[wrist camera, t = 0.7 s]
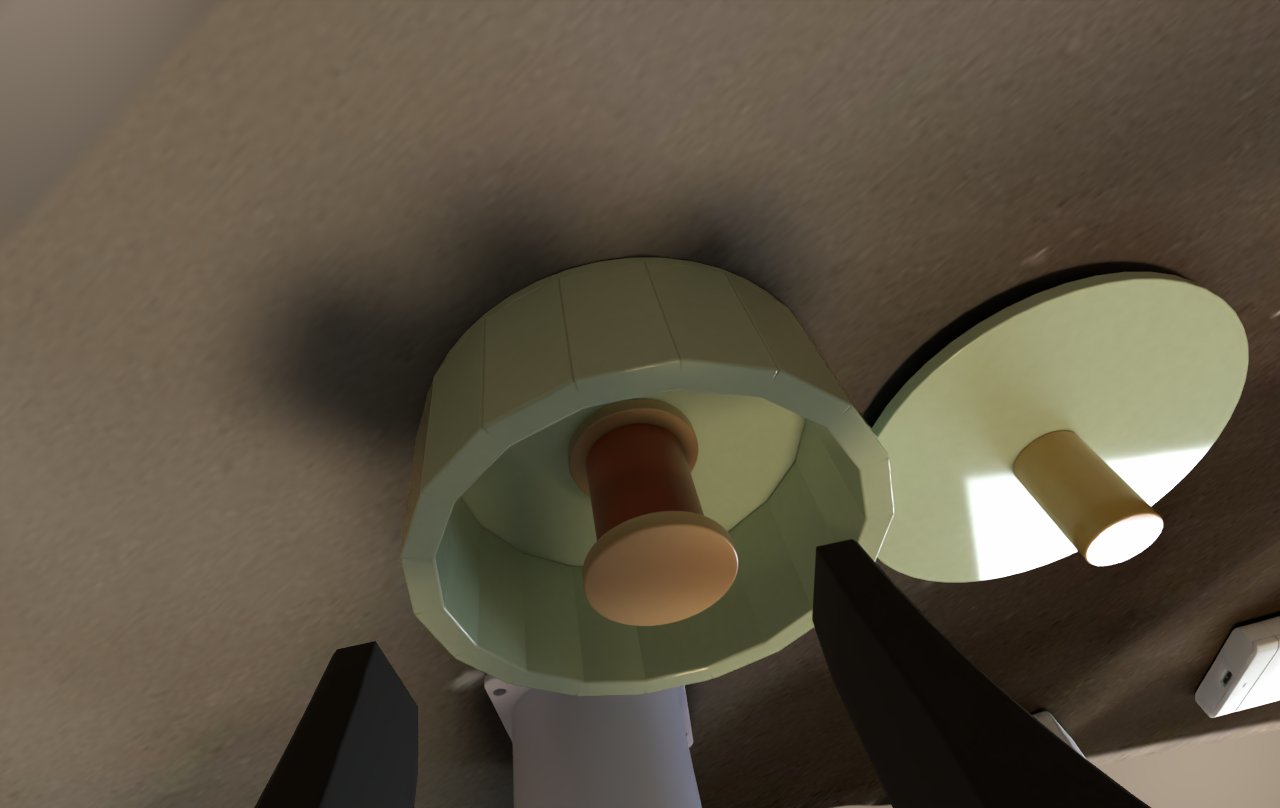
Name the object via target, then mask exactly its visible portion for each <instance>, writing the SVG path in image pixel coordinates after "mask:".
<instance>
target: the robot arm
mask: <svg viewBox="0 0 1280 808" xmlns="http://www.w3.org/2000/svg"><path fill="white" fill-rule="evenodd" d="M812 621H813V624H814V627H815V630H816V633H817V636H818V639H819V641H820V644H821V647H822V650H823V653H824V656H825V659H826V662H827V665H828V667H829V670H830V673H831V676H832V679H833V681H834V683H835V685H836V688H837V690H838V692H839V694H840V696H841V698H842V701H843V703H844V705H845V707H846V709H847V711H848V713H849V716H850V718H851V720H852V722H853V724H854V726H855V728H856V731H857V733H858V735H859V737H860V739H861V741H862V743H863V745H864V748H865V750H866V752H867V754H868V756H869V758H870V760H871V762H872V764H873V767H874V769H875V771H876V773H877V775H878V777H879V779H880V781H881V784H882V786H883V788H884V790H885V792H886V794H887V796H888V798H889V801H890V803H891V805H892V807H893V808H1151V807H1150V806H1148V805H1147V804H1145V803H1144V802H1142V801H1141V800H1139V799H1138V798H1137V797H1135V796H1134V795H1132V794H1131V793H1130V792H1128V791H1127V790H1126V789H1125V788H1123V787H1122V786H1120V785H1119V784H1118V783H1117V782H1115V781H1114V780H1113V779H1111V778H1110V777H1109V776H1107V775H1106V774H1105V773H1103V772H1102V771H1101V770H1100V769H1098V768H1097V767H1096V766H1094V765H1093V764H1092V763H1090V762H1089V761H1088V760H1086V759H1085V758H1084V757H1083V756H1081V755H1080V754H1079V753H1078V752H1076V751H1075V750H1074V749H1073V748H1071V747H1070V746H1069V745H1068V744H1066V743H1065V742H1064V741H1063V740H1061V739H1060V738H1059V737H1058V736H1056V735H1055V734H1054V733H1053V732H1052V731H1050V730H1049V729H1048V728H1047V727H1046V726H1044V725H1043V724H1042V723H1041V722H1040V721H1038V720H1037V719H1036V718H1035V717H1034V716H1032V715H1031V714H1030V713H1029V712H1028V711H1027V710H1025V709H1024V708H1023V707H1022V706H1021V705H1020V704H1018V703H1017V702H1016V701H1015V700H1014V699H1013V698H1012V697H1011V696H1009V695H1008V694H1007V693H1006V692H1005V691H1004V690H1003V689H1002V688H1000V687H999V686H998V685H997V684H996V683H995V682H994V681H993V680H991V679H990V678H989V677H988V676H987V675H986V674H985V673H984V672H983V671H982V670H981V669H980V668H978V667H977V666H976V665H975V664H974V663H973V662H972V661H971V660H970V659H969V658H968V657H967V656H966V655H965V654H964V653H963V652H962V651H961V650H959V649H958V648H957V647H956V646H955V645H954V644H953V643H952V642H951V641H950V640H949V639H948V638H947V637H946V636H945V635H944V634H943V633H942V632H941V631H940V630H939V629H938V628H937V627H936V626H935V625H934V624H933V623H932V622H931V621H930V620H929V619H928V618H927V617H926V616H925V615H924V614H923V613H922V612H921V611H920V610H919V609H918V608H917V607H916V606H915V605H914V604H913V603H912V602H911V601H910V599H909V598H908V597H907V596H906V595H905V594H904V593H903V592H902V591H901V590H900V589H899V588H898V587H897V586H896V585H895V584H894V582H893V581H892V580H891V579H890V578H889V577H888V576H887V575H886V574H885V573H884V571H883V570H882V569H881V568H880V567H879V566H878V565H877V564H876V563H875V561H874V560H873V559H872V558H871V557H870V556H869V555H868V553H867V552H866V551H865V550H864V549H863V548H862V546H861V545H860V544H859V543H858V542H857V541H855V540H853V539H850V540H845V541H840V542H836V543H831V544H826V545H822V546H817V547H816V557H815V575H814V594H813V612H812ZM484 688H485V689H486V691H487V693H488V695H489V697H490V699H491V701H492V703H493V705H494V707H495V709H496V711H497V713H498V715H499V717H500V719H501V721H502V723H503V725H504V727H505V729H506V731H507V733H508V735H509V737H510V739H511V741H512V743H513V784H514V808H702V807H701V802H700V797H699V793H698V788H697V784H696V779H695V774H694V770H693V765H692V761H691V756H690V751H689V747H690V746H691V745H692V744H693V737H692V730H691V724H690V717H689V711H688V704H687V697H686V691H685V685H684V686H680V687H675V688H671V689H666V690H661V691H657V692H652V693H648V694H646V693H644V694H642V695H610V696H576V695H575V696H571V695H566V694H560V693H555V692H549V691H544V690H538V689H533V688H527V687H522V686H516V685H512V684H507V683H505V682H503V681H501V680H499V679H497V678H495V677H492V676H490V675H488V674H487V675H486V676H485V678H484ZM417 775H418V706H417V704H416V703H415V701H414V700H413V698H412V697H411V695H410V694H409V692H408V690H407V689H406V687H405V686H404V684H403V683H402V681H401V680H400V678H399V677H398V675H397V673H396V672H395V670H394V669H393V667H392V666H391V664H390V663H389V661H388V660H387V658H386V656H385V655H384V653H383V652H382V650H381V649H380V647H379V646H378V644H377V643H376V641H374V642H370V643H365V644H360V645H356V646H351V647H346V648H342V649H337V650H336V652H335V653H334V654H333V656H332V658H331V660H330V662H329V664H328V666H327V668H326V670H325V672H324V674H323V676H322V678H321V680H320V682H319V684H318V686H317V688H316V690H315V692H314V695H313V697H312V699H311V701H310V703H309V705H308V707H307V709H306V711H305V713H304V715H303V717H302V719H301V721H300V723H299V724H298V726H297V728H296V730H295V732H294V734H293V736H292V738H291V740H290V742H289V744H288V746H287V748H286V750H285V752H284V754H283V755H282V757H281V759H280V761H279V763H278V765H277V767H276V768H275V770H274V772H273V774H272V776H271V778H270V780H269V782H268V783H267V785H266V787H265V789H264V791H263V793H262V795H261V796H260V798H259V800H258V802H257V804H256V806H255V807H254V808H414V803H415V794H416V784H417Z"/></svg>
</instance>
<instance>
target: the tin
mask: <svg viewBox="0 0 1280 808" xmlns="http://www.w3.org/2000/svg"><path fill="white" fill-rule="evenodd" d="M630 399H651V400H656V401H660V402H664V403H666V404H669V405H671V406H673V407H674V408H676V409H678V410H679V411H680V412H682V413H683V414H684V415H685V416H686V417H687V419H688V420H689V421H690V423H691V425H692V426H693V429H694V432H695V435H696V437H697V441H698V458H697V461H696V464H695V467H694V469H693V471H692V472H691V476H692V479H693V482H694V485H695V488H696V491H697V495H698V498H699V501H700V504H701V507H702V510H703V513H704V516H706V517H709V518H711V519H712V520H714V521H716V522H717V523H719V524H720V525H721V526H722V527H723V528H724V529H725V530H726V531H727V532H728V533H729V535H730V536H731V538H732V541H733V544H734V547H735V549H736V552H737V556H738V570H737V574H736V577H735V579H734V582H733V583H732V585H731V587H730V588H729V589H728V591H727V592H726V593H725V594H724V595H723V596H722V597H721V598H720V599H719V600H718V601H717V602H715V603H714V604H713V605H711V606H710V607H708V608H707V609H705V610H703V611H701V612H700V613H698V614H696V615H693V616H691V617H689V618H686V619H683V620H680V621H676V622H672V623H668V624H662V625H654V626H634V625H627V624H622V623H618V622H615V621H612V620H610V619H608V618H606V617H604V616H602V615H601V614H599V613H598V612H597V611H595V609H594V608H593V607H592V606H591V605H590V603H589V602H588V600H587V598H586V596H585V593H584V587H583V579H582V568H583V564H584V561H585V558H586V556H587V554H588V552H589V551H590V549H591V547H592V546H593V545H594V544H595V543H596V541H597V539H596V532H595V525H594V518H593V512H592V505H591V498H590V497H589V496H588V495H586V494H585V493H584V492H583V491H581V490H580V489H579V487H578V486H577V485H576V484H575V482H574V480H573V479H572V476H571V474H570V469H569V463H568V448H569V444H570V441H571V438H572V436H573V434H574V432H575V431H576V429H577V428H578V427H579V425H580V424H581V423H582V422H583V421H584V420H585V419H586V418H587V417H589V416H590V415H591V414H592V413H594V412H596V411H597V410H599V409H601V408H603V407H605V406H607V405H610V404H612V403H615V402H619V401H623V400H630ZM893 516H894V502H893V491H892V479H891V468H890V457H889V456H888V453H887V451H886V450H885V448H884V447H883V445H882V444H881V442H880V441H879V439H878V438H877V436H876V435H875V433H874V432H873V430H872V429H871V427H870V425H869V424H868V422H867V421H866V419H865V418H864V416H863V415H862V413H861V412H860V410H859V409H858V407H857V406H856V404H855V403H854V401H853V400H852V398H851V397H850V395H849V394H848V392H847V391H846V389H845V388H844V386H843V385H842V383H841V382H840V380H839V379H838V377H837V376H836V374H835V373H834V371H833V370H832V368H831V367H830V365H829V364H828V362H827V361H826V359H825V358H824V356H823V355H822V353H821V352H820V350H819V349H818V348H817V346H816V345H815V344H814V342H813V341H812V339H811V338H810V337H809V335H808V334H807V332H806V331H805V329H804V328H803V326H802V325H801V324H800V323H799V321H798V320H797V319H796V317H795V316H794V315H793V313H792V312H791V310H790V309H788V308H787V306H785V305H783V304H782V303H780V302H779V301H778V300H777V299H776V298H774V297H773V296H772V295H771V294H770V293H768V292H767V291H765V290H763V289H762V288H760V287H758V286H757V285H755V284H753V283H752V282H750V281H748V280H747V279H745V278H742V277H740V276H737V275H735V274H732V273H730V272H728V271H725V270H723V269H720V268H716V267H713V266H709V265H705V264H701V263H697V262H693V261H686V260H678V259H670V258H624V259H616V260H608V261H600V262H596V263H592V264H588V265H584V266H579V267H575V268H571V269H568V270H565V271H562V272H560V273H557V274H555V275H552V276H549V277H547V278H544V279H541V280H539V281H537V282H535V283H533V284H531V285H529V286H527V287H525V288H524V289H522V290H520V291H518V292H516V293H514V294H512V295H511V296H509V297H508V298H506V299H505V300H503V301H502V302H501V303H499V304H498V305H496V306H495V307H493V308H492V309H491V310H489V311H488V312H486V313H485V314H484V315H483V316H482V317H481V318H480V319H479V320H478V321H477V322H476V323H474V324H473V325H472V326H471V327H470V328H469V329H468V330H467V331H466V332H465V333H464V334H463V335H462V337H461V338H460V339H459V340H458V341H457V343H456V344H455V345H454V346H453V348H452V349H451V350H450V351H449V352H448V354H447V356H446V357H445V359H444V361H443V362H442V364H441V366H440V367H439V369H438V371H437V373H436V374H435V376H434V378H433V381H432V384H431V386H430V389H429V392H428V394H427V397H426V401H425V406H424V410H423V415H422V418H421V421H420V425H419V428H418V432H417V435H416V442H415V449H414V457H413V464H412V471H411V478H410V485H409V493H408V500H407V507H406V514H405V522H404V529H403V536H402V543H401V550H400V560H401V564H402V568H403V573H404V577H405V581H406V585H407V589H408V593H409V597H410V602H411V606H412V610H413V613H414V614H415V616H416V617H417V618H418V619H419V620H420V622H421V623H422V624H423V625H424V626H425V627H426V628H427V629H428V630H429V631H430V632H431V633H432V635H433V636H434V637H435V638H436V639H437V640H438V641H439V642H440V643H441V644H442V645H443V646H444V648H445V649H446V650H447V651H448V652H449V653H450V654H451V655H452V656H454V658H455V659H457V660H459V661H461V662H463V663H466V664H468V665H470V666H472V667H474V668H476V669H478V670H480V671H482V672H484V673H486V674H488V675H490V676H492V677H495V678H497V679H499V680H501V681H503V682H505V683H507V684H512V685H516V686H522V687H527V688H533V689H538V690H544V691H549V692H555V693H560V694H566V695H571V696H575V695H576V696H610V695H642V694H644V693H646V694H648V693H652V692H657V691H661V690H666V689H671V688H675V687H680V686H684V685H689V684H693V683H698V682H702V681H707V680H711V679H712V678H717V677H719V676H722V675H724V674H726V673H729V672H731V671H734V670H736V669H738V668H741V667H743V666H745V665H748V664H750V663H753V662H755V661H757V660H760V659H762V658H764V657H767V656H769V655H772V654H774V653H775V652H779V651H780V650H782V649H783V648H784V647H786V646H787V645H789V644H790V643H792V642H793V641H795V640H796V639H798V638H799V637H800V636H802V635H803V634H805V633H806V632H808V631H809V630H811V629H812V628H814V624H813V621H812V612H813V594H814V575H815V557H816V547H817V546H822V545H826V544H831V543H836V542H840V541H845V540H850V539H853V540H855V541H857V542H858V543H859V544H860V545H861V546H862V548H863V549H864V550H865V551H866V552H867V553H868V555H869V556H870V557H871V558H872V559H873V560H874V561H876V559H877V556H878V554H879V551H880V549H881V546H882V544H883V541H884V539H885V536H886V534H887V531H888V529H889V526H890V524H891V521H892V519H893Z"/></svg>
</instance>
